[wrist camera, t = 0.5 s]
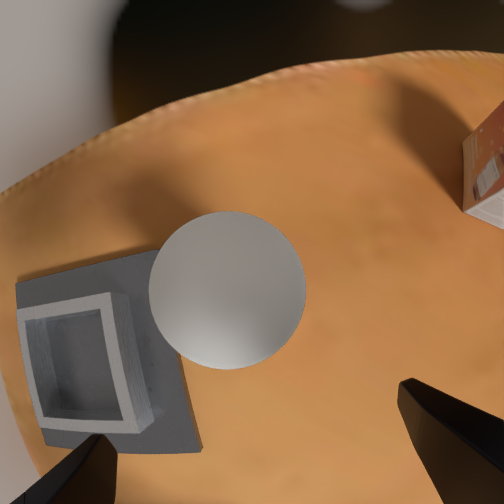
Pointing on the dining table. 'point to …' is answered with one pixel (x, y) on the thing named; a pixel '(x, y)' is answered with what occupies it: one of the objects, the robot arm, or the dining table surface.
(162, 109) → the dining table surface
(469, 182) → the small box
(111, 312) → the duct collar
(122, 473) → the dining table surface
